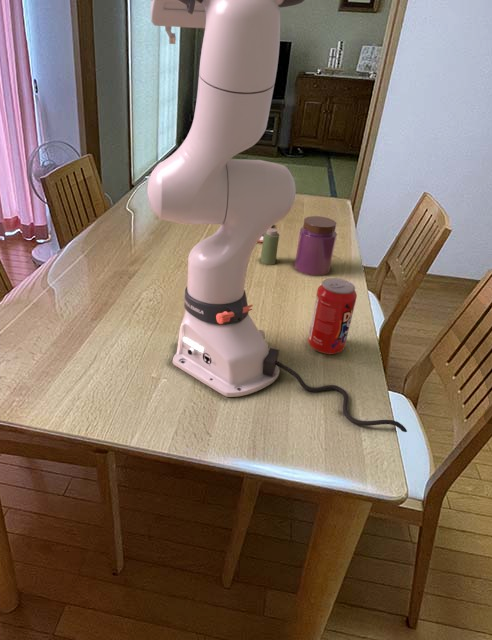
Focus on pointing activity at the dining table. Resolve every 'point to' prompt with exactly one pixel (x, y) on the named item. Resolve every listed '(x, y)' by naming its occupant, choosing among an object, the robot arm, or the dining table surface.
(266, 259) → the green shaker
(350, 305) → the soda can
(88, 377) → the dining table surface
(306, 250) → the plum jar
